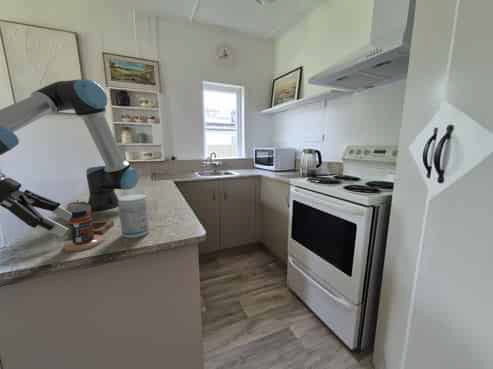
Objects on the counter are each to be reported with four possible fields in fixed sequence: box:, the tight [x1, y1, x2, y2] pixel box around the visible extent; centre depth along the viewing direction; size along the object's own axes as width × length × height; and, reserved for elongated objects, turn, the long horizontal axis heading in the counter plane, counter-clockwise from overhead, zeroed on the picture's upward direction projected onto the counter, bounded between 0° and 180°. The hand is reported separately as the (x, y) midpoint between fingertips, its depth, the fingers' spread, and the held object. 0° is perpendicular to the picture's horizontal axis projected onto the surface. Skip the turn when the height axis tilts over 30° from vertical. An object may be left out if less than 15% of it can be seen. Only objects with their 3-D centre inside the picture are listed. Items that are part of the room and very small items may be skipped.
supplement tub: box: [117, 194, 150, 239], centre depth 80 cm, size 10×10×15 cm
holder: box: [67, 220, 115, 239], centre depth 84 cm, size 11×11×2 cm
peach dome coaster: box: [63, 235, 105, 253], centre depth 73 cm, size 11×11×1 cm
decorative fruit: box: [65, 199, 92, 216], centre depth 95 cm, size 9×8×10 cm
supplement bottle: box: [69, 209, 94, 245], centre depth 71 cm, size 6×6×11 cm
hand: (70, 225), depth 70 cm, fingers open, 13 cm apart
